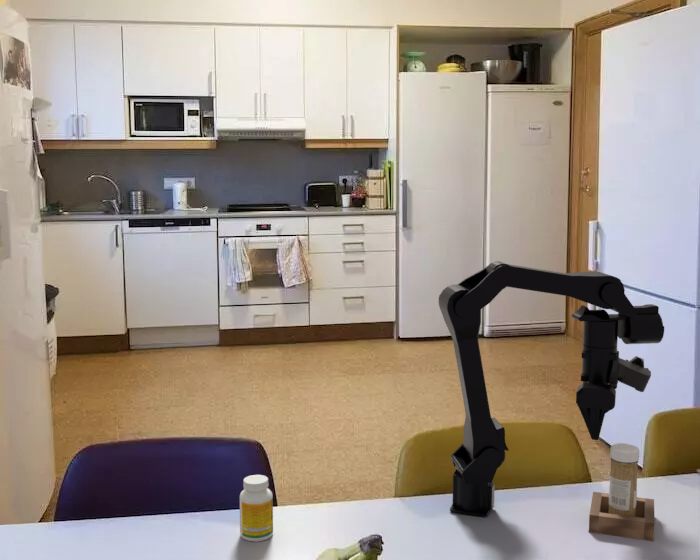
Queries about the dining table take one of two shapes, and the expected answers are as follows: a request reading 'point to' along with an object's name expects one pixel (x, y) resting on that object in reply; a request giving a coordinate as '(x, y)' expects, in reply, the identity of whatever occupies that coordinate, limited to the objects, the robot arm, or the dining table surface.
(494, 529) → the dining table surface
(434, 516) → the dining table surface
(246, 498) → the supplement bottle
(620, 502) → the sprinkles bottle
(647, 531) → the walnut socket
